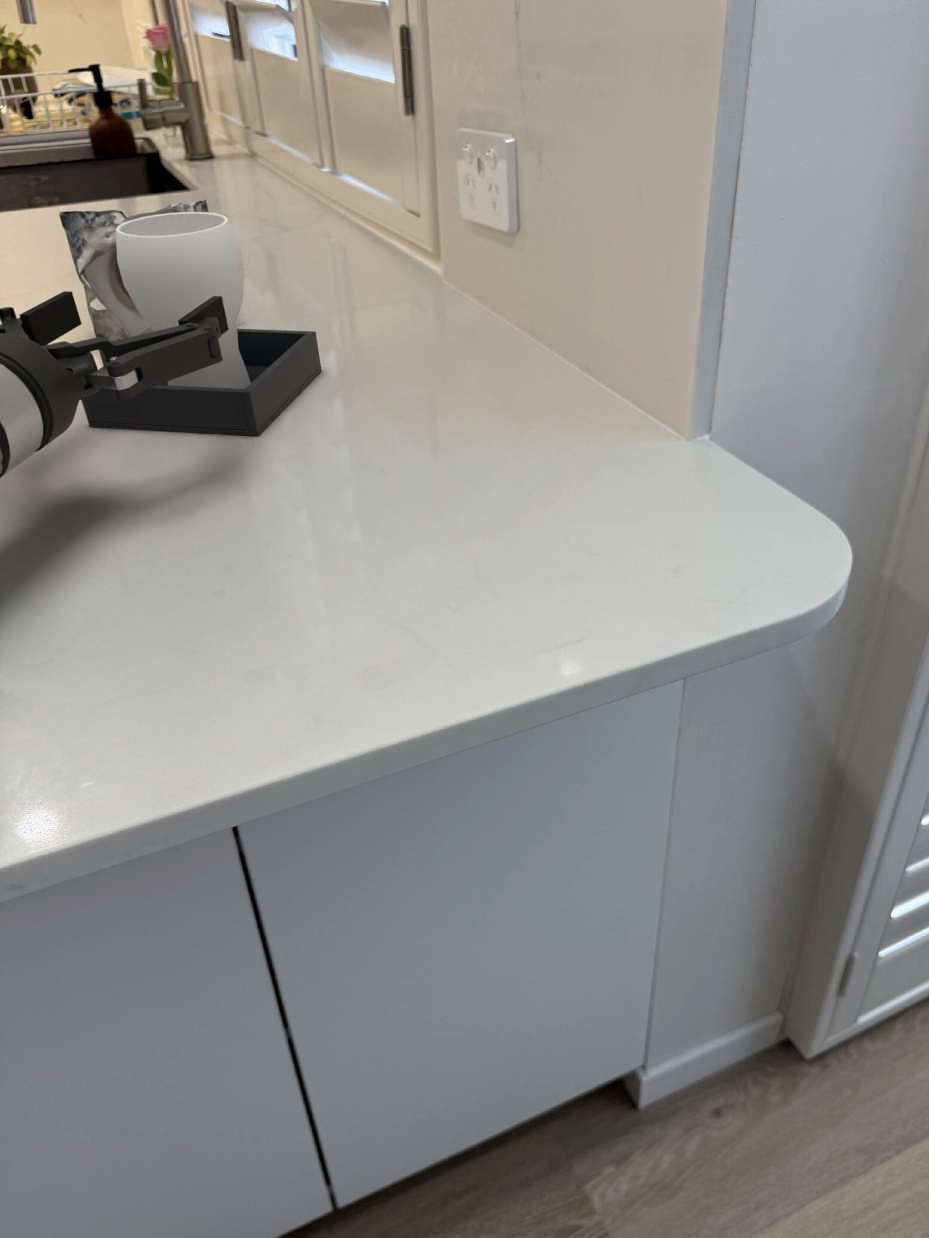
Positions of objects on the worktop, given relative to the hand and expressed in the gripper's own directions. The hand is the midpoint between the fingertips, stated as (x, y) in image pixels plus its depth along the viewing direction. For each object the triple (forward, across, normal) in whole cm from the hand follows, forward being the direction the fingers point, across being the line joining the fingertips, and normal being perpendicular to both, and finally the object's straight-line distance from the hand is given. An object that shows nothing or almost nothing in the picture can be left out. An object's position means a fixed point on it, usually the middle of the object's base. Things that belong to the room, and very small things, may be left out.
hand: (146, 310), depth 80 cm
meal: (+25, -14, -11) cm, 31 cm away
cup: (+7, 0, -10) cm, 12 cm away
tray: (+7, 0, -10) cm, 13 cm away
